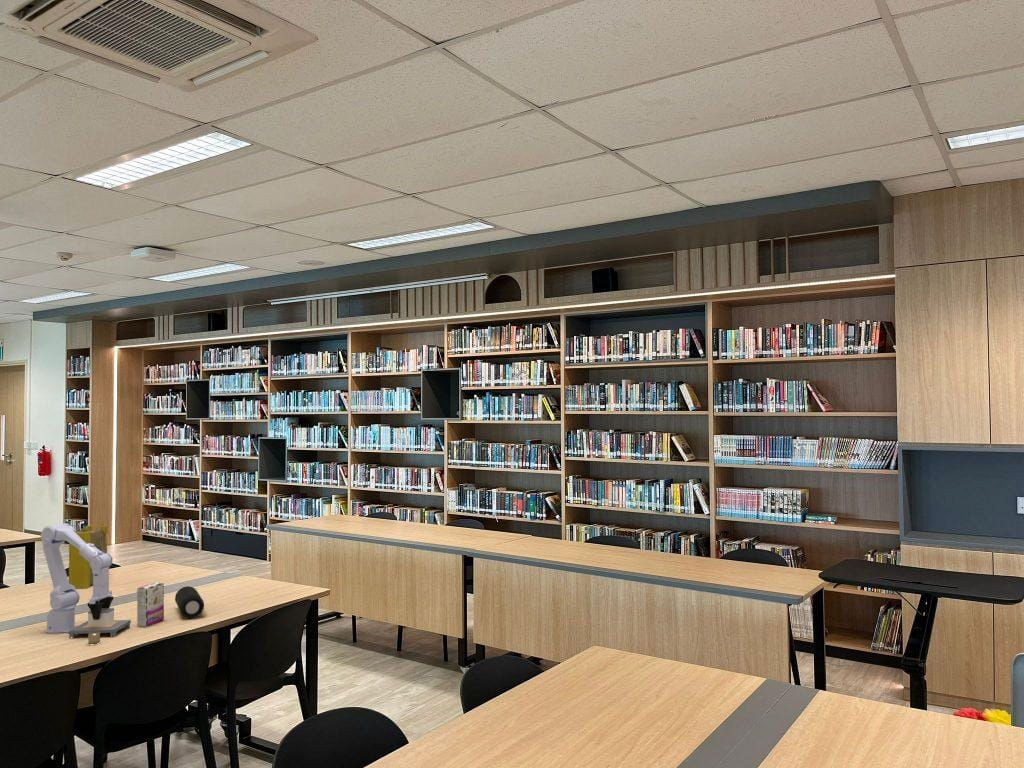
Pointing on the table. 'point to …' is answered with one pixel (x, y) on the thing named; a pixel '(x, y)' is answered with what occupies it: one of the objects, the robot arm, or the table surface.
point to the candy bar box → (150, 604)
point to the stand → (100, 628)
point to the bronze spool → (94, 638)
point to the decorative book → (79, 565)
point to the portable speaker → (189, 602)
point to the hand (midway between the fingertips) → (100, 617)
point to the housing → (102, 618)
